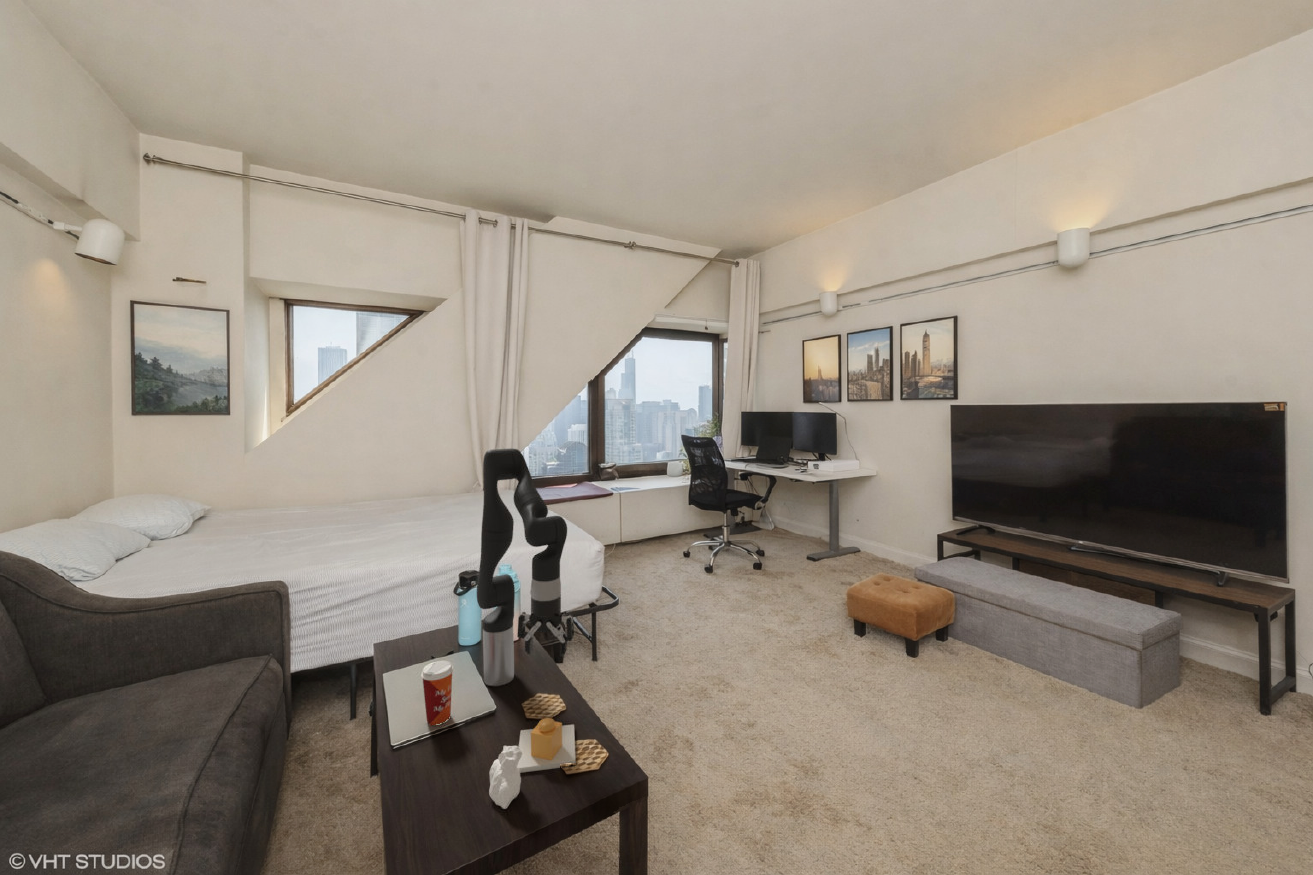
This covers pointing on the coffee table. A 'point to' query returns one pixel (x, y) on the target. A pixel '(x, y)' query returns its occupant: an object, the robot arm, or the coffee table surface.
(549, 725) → the domed orange cube
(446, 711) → the coffee cup
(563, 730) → the plate
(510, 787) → the bust
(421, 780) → the coffee table surface
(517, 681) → the coffee table surface
